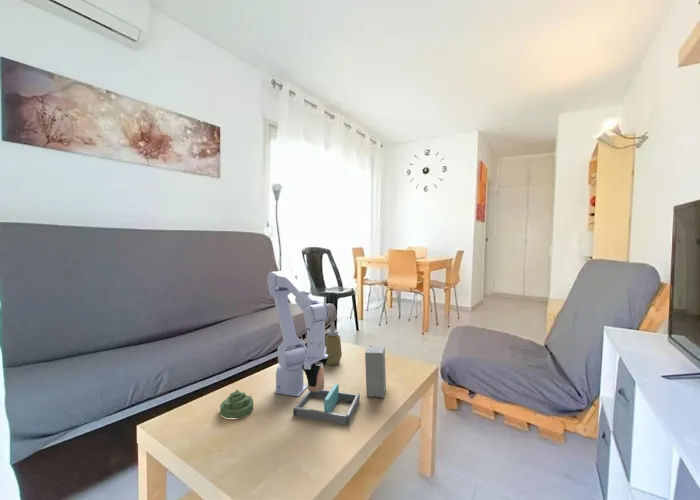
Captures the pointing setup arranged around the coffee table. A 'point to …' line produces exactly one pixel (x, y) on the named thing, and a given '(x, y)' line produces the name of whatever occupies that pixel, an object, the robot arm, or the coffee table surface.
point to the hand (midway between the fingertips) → (315, 381)
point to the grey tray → (327, 415)
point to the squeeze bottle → (333, 346)
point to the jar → (318, 379)
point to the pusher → (331, 398)
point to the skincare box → (375, 371)
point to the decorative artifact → (236, 405)
